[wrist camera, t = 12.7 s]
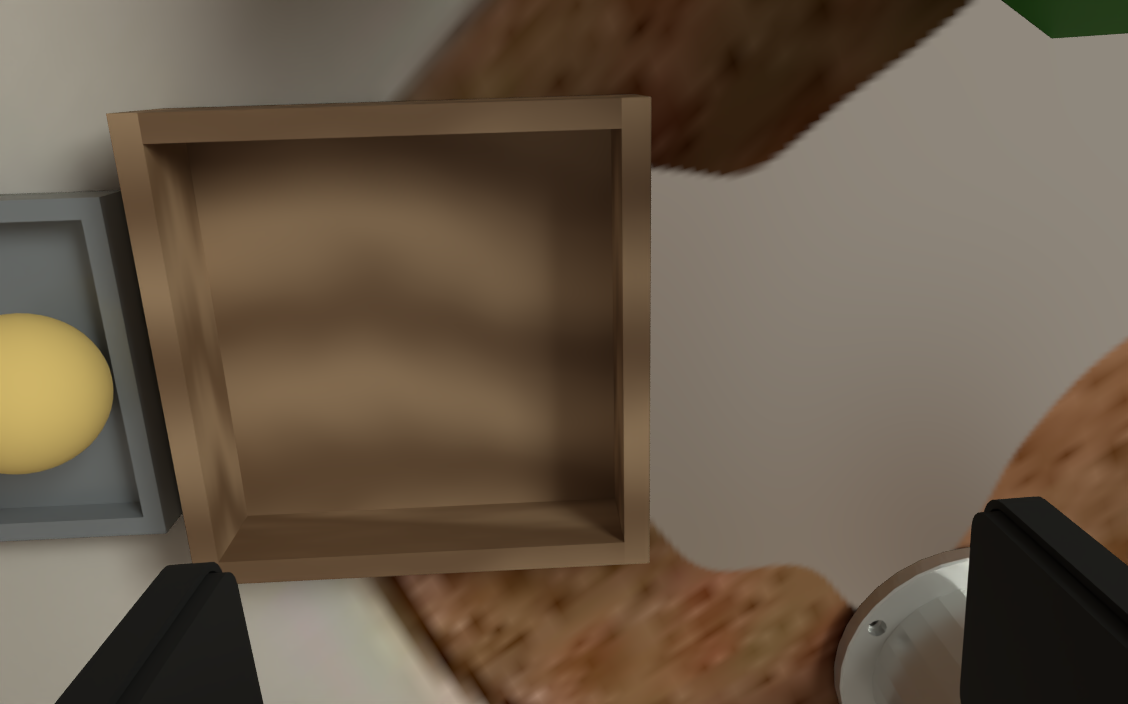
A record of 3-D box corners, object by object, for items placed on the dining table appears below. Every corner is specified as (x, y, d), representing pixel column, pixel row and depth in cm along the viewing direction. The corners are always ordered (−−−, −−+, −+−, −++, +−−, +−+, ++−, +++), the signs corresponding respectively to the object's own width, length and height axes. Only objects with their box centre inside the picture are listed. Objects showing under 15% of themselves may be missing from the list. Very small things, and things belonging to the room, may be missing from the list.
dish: (184, 509, 37) (166, 533, 35) (-48, 520, 37) (-79, 545, 35) (123, 190, 33) (99, 197, 31) (-140, 199, 32) (-182, 206, 31)
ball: (119, 424, 36) (135, 474, 31) (-50, 459, 33) (-61, 520, 28) (90, 288, 34) (103, 319, 30) (-91, 312, 31) (-110, 351, 27)
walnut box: (635, 508, 38) (649, 563, 34) (233, 527, 38) (196, 585, 33) (634, 94, 33) (651, 97, 28) (161, 108, 32) (105, 113, 28)
